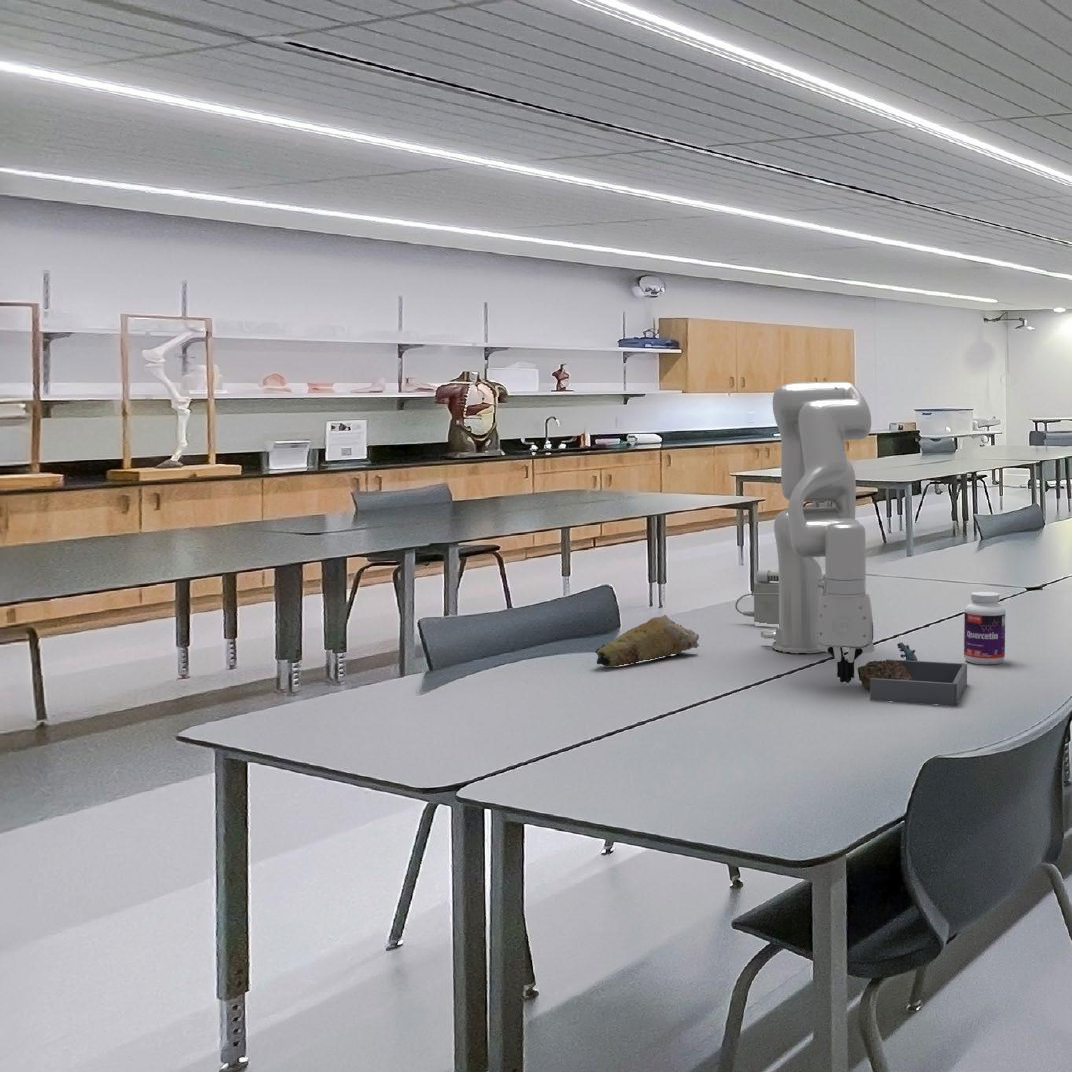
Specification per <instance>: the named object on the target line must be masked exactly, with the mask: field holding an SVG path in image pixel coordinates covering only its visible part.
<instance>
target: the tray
mask: <svg viewBox="0 0 1072 1072" xmlns="http://www.w3.org/2000/svg"><path fill="white" fill-rule="evenodd" d="M888 660H890V661H894V660H895V659H890V658H888V659H885V661H888ZM896 660H897V661H898V662H899V663H900V664H901V665H902V666H904V667H905V669H906V670H907V671H908V674H909V675H910V676H911V678H912V680H913V681H911V680H894V679H878V678H870V690H869V700H870V701H874V702H875V701H876V702H877V701H878V702H889V701H893V702H892V703H903V702H905V703H906V704H920V705H921V704H922V705H932V704H938V705H937V706H946V705H947V706H946V707H949V706H950V707H955V706H956V707H957V705H958V704H959V702H960V700H961V698H962V697H963V693H964V692H965V689H966V687H967V686H968V663H964V662H963V663H959V662H945V661H944V662H941V661H926V660H918V661H910V660H906V659H896Z"/></svg>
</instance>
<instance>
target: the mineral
mask: <svg viewBox="0 0 1072 1072" xmlns="http://www.w3.org/2000/svg"><path fill="white" fill-rule="evenodd" d="M699 638H700V635H699V633H695V632H694V631H693V630H692V629H690V628H689V629H688V628H685V627H683V625H682V624H678V623H677V624H676V622H674V621H673V620H671V619H670V618H669V617H668V616H667V615H666V614H664V615H662V616H655V617H651V619H649V620H648V621H647V622H645V623H641V624H639V625H638V626H635V627H633V628H630V629H627V631H625V632H623V633H622V634H620V635H619V636H618V637H616V638H615V639H614V640H612V641H609V642H608V643H605V644H603V645H602V646H601V647H598V648H597V649H596V650H595V654H596V655H597V658H596V665H602V666H604V667H607V666H619V665H624V664H630V665H632V664H631V663H634V664H635V663H636V662H639V661H643V660H650V659H655V658H659V657H663V656H667V657H668V656H669V655H671V654H679V653H681V652H684V651H687V650H688V651H689V650H691V649H692V648H694V649H697V648H698V647H700V645H699V643H698V640H700V639H699ZM669 657H670V656H669Z"/></svg>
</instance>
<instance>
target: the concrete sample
mask: <svg viewBox="0 0 1072 1072" xmlns="http://www.w3.org/2000/svg"><path fill="white" fill-rule="evenodd" d="M893 660H894V661H890V660H888V661H886V660H873V661H871V660H870V661H868V662H867V663H866V664H865V665H860V666H858V667H857V674H858V680H859V681H860V682H861V686H862V687H864V689H866V690H868V691H870V678H878V679H894V680H911V681H913V680H912V678H911V676H910V675H909V674H908V671H907V670H906V669H905V667H904V666H902V665H901V664H900V663H899V662H898V661H897V660H898V659H893Z"/></svg>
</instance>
